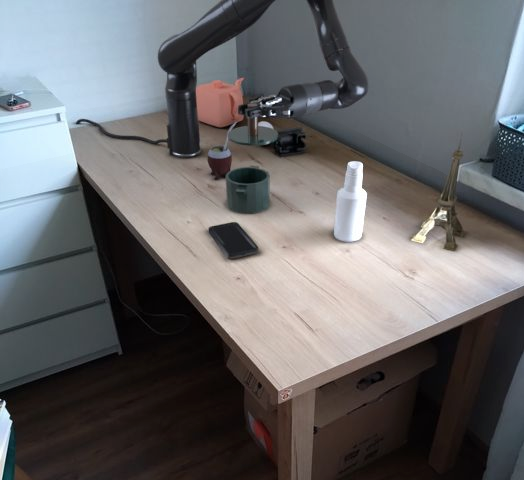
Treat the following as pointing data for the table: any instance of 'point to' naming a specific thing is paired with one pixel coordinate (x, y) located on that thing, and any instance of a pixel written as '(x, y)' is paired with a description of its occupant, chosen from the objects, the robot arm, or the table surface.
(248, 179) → the pot
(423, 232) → the eiffel tower
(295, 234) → the table surface
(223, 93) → the teapot
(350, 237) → the white bottle
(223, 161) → the mate gourd
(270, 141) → the lid
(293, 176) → the table surface
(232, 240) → the phone
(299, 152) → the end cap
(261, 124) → the white sphere
